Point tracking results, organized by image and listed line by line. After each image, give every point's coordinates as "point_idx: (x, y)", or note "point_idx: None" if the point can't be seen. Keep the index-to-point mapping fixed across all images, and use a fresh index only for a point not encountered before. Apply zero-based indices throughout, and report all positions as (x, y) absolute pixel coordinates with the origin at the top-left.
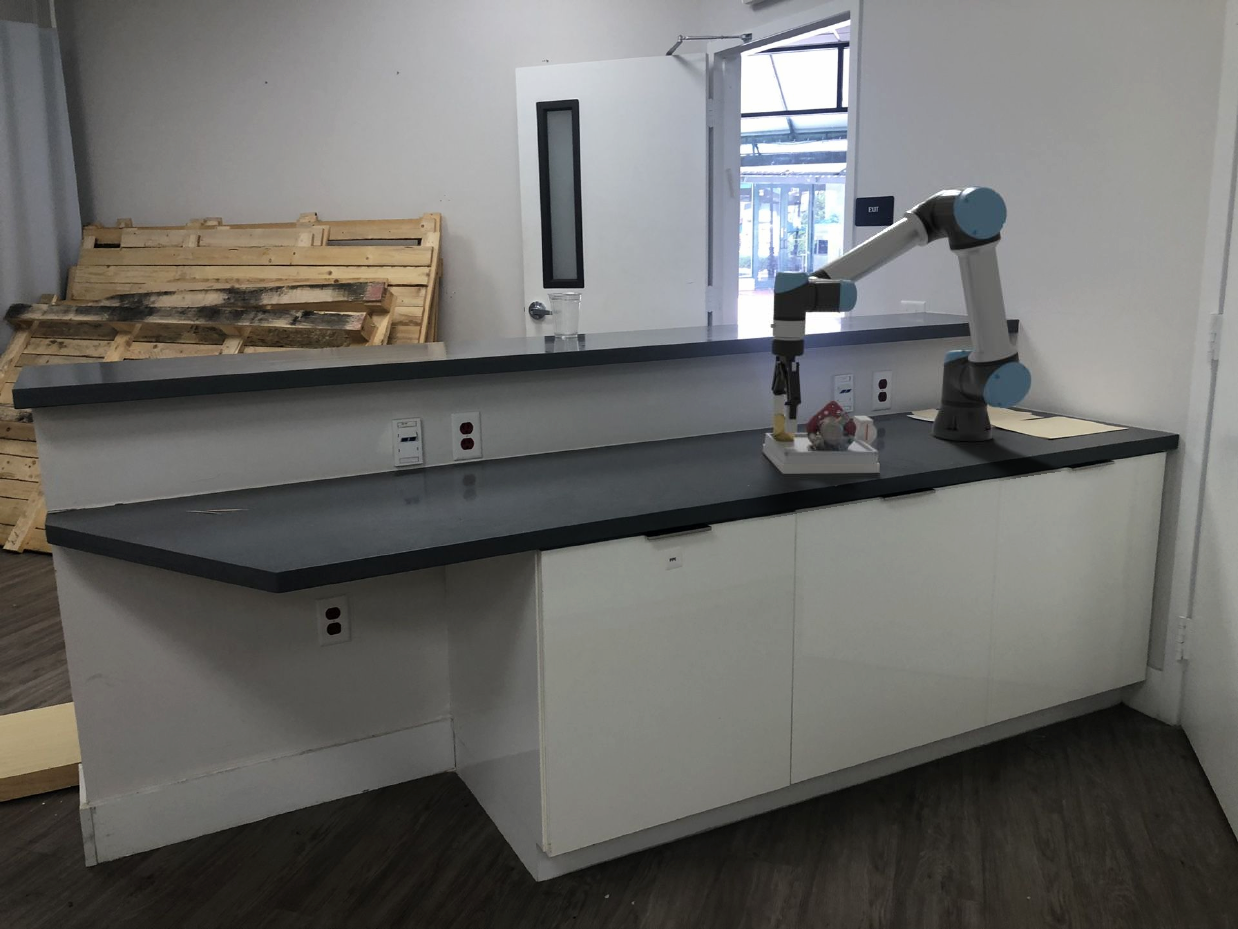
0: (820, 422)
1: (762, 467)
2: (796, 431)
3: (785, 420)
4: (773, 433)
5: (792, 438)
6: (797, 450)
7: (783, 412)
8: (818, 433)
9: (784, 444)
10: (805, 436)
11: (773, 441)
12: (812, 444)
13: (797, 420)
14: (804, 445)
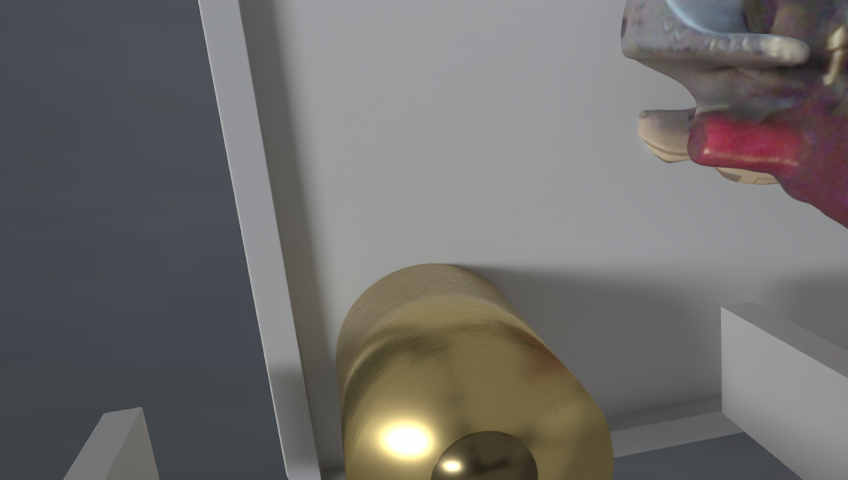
0: (801, 50)
1: (735, 442)
2: (758, 310)
3: (815, 477)
4: (303, 452)
5: (499, 291)
6: (831, 267)
7: (112, 476)
8: (704, 68)
9: (619, 355)
10: (266, 140)
11: (626, 452)
12: (666, 123)
13: (843, 349)
14: (658, 193)
